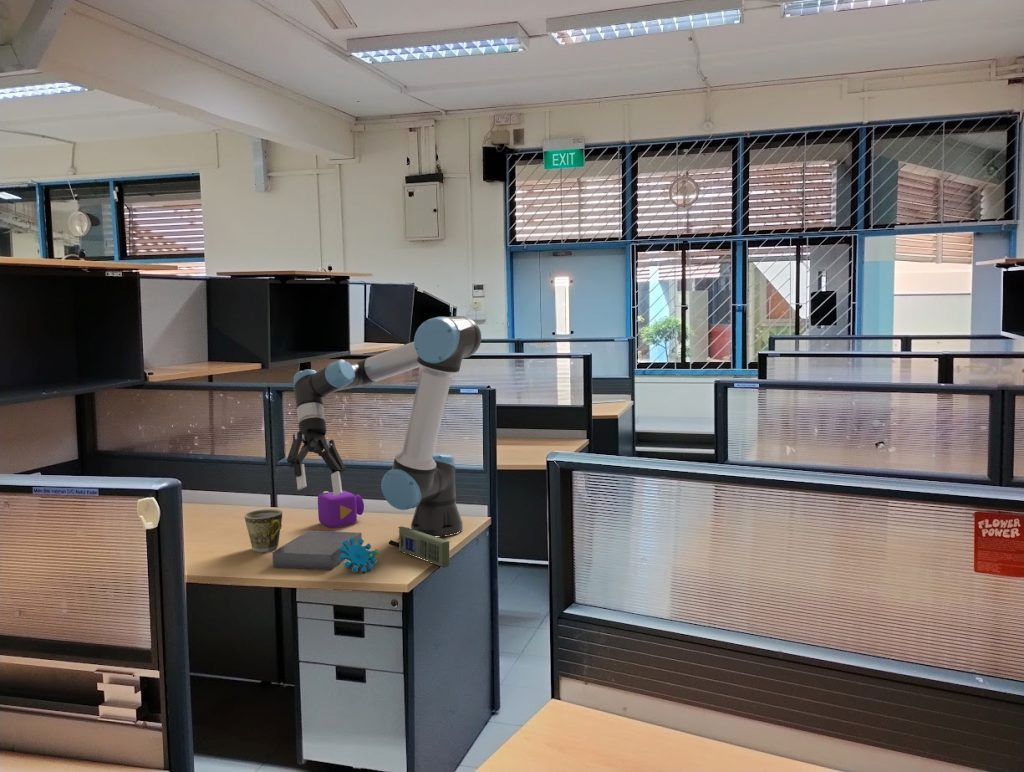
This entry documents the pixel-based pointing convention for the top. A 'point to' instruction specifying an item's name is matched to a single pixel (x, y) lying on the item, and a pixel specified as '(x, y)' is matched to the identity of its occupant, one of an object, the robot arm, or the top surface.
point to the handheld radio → (423, 546)
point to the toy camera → (339, 508)
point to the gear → (358, 555)
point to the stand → (314, 550)
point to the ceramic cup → (264, 529)
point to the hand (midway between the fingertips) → (320, 491)
